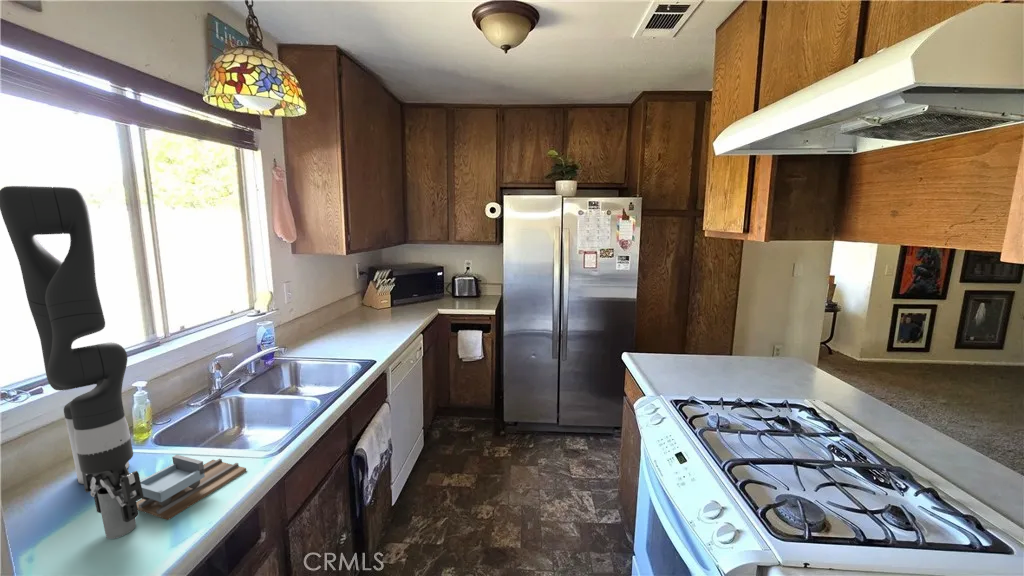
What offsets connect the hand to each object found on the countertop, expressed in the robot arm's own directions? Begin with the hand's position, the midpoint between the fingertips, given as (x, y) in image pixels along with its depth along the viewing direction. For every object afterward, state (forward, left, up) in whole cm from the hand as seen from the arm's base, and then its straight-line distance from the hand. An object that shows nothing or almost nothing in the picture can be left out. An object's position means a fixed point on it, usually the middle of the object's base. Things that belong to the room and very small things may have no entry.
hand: (117, 514), depth 81 cm
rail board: (0, +14, -4) cm, 15 cm away
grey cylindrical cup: (0, 0, -4) cm, 4 cm away
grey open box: (0, +10, -2) cm, 10 cm away
